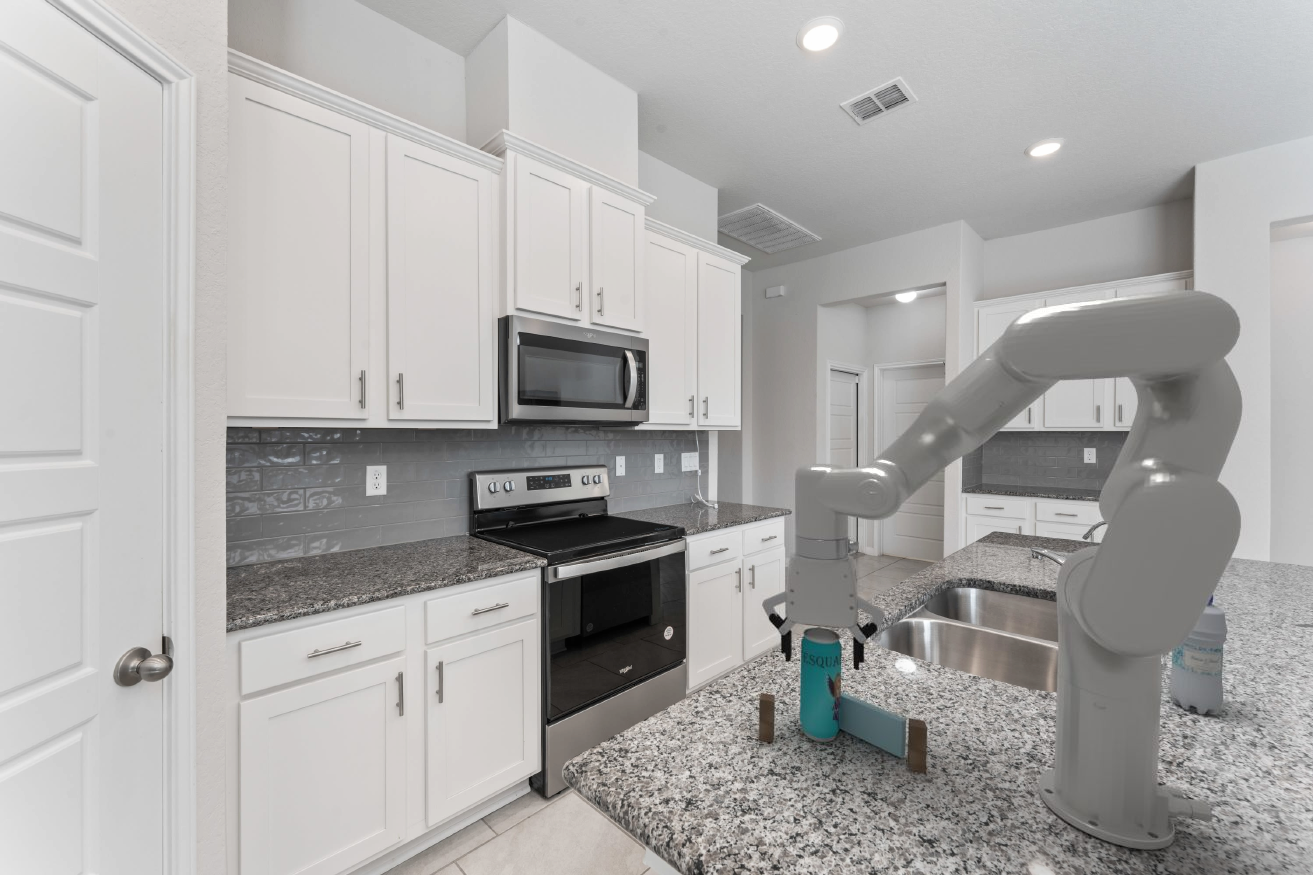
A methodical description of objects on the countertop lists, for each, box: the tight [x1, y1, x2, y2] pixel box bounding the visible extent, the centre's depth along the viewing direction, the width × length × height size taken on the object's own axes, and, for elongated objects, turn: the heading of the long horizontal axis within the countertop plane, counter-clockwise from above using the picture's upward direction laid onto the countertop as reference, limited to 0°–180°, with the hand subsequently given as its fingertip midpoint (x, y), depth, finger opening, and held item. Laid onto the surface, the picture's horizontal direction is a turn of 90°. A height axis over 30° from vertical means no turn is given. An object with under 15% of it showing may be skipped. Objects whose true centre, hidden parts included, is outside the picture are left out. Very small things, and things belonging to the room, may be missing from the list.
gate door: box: [839, 691, 907, 759], centre depth 81 cm, size 16×1×5 cm, turn 40°
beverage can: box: [799, 627, 843, 743], centre depth 81 cm, size 6×6×15 cm
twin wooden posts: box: [758, 692, 928, 774], centre depth 77 cm, size 22×2×6 cm, turn 72°
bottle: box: [1168, 594, 1229, 716], centre depth 90 cm, size 7×7×20 cm
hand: (821, 662), depth 81 cm, fingers open, 9 cm apart
